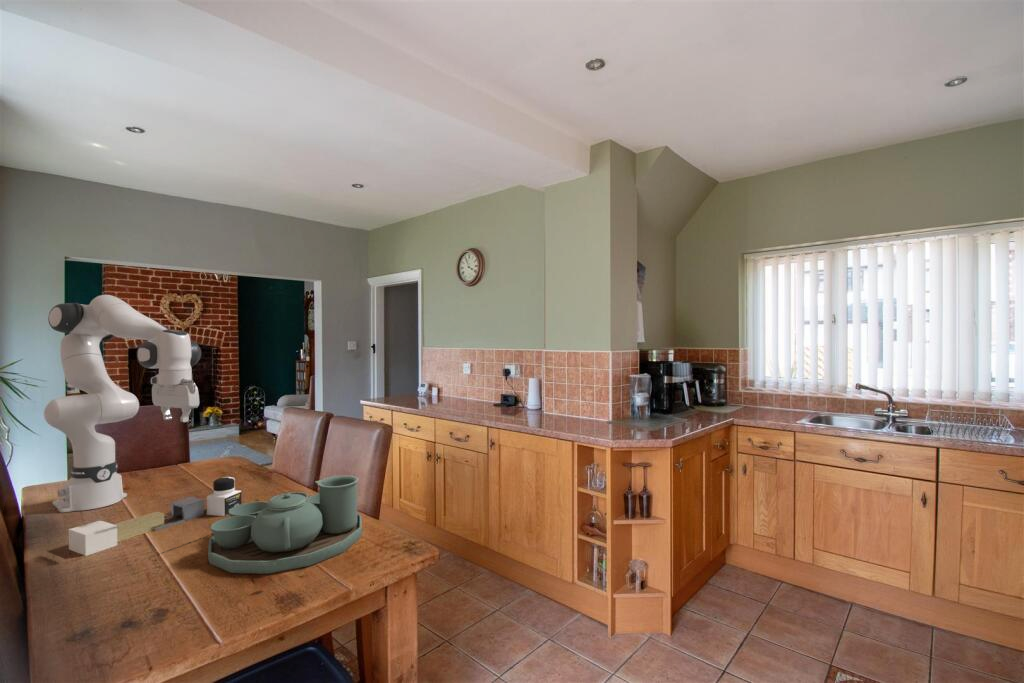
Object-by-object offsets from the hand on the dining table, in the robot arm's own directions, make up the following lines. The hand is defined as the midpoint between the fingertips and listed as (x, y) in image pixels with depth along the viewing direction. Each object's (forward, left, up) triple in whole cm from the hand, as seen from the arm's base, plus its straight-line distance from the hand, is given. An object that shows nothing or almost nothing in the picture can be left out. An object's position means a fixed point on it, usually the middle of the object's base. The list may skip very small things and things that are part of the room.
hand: (175, 420), depth 155 cm
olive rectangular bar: (+8, -17, -30) cm, 35 cm away
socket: (+8, -25, -31) cm, 41 cm away
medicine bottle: (+14, +7, -31) cm, 35 cm away
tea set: (+51, +2, -32) cm, 60 cm away
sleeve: (+8, -5, -31) cm, 32 cm away
